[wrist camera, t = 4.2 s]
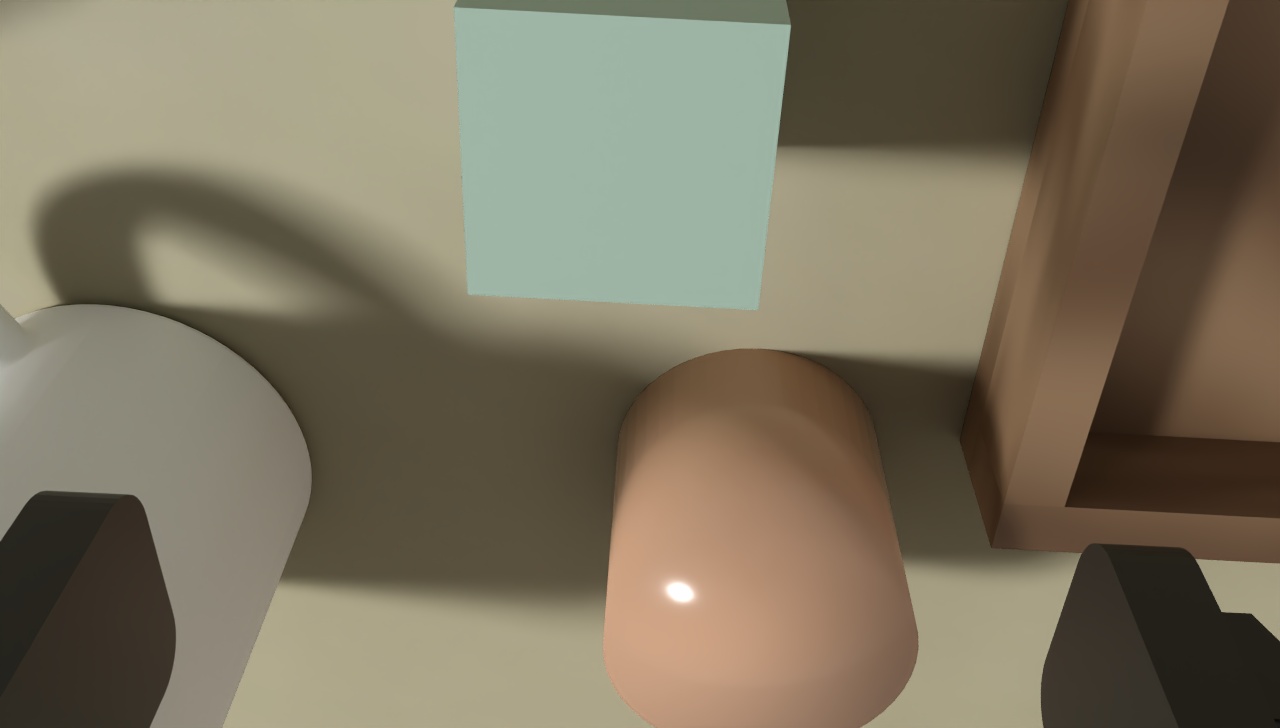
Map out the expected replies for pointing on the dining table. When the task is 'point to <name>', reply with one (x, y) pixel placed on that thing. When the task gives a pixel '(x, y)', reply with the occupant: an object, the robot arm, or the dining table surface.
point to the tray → (1142, 293)
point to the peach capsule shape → (754, 551)
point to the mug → (162, 470)
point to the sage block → (619, 147)
